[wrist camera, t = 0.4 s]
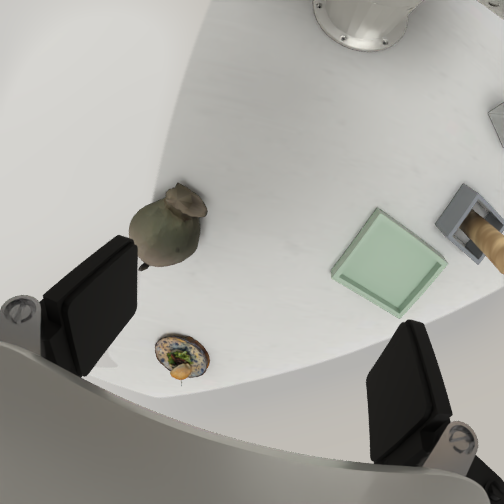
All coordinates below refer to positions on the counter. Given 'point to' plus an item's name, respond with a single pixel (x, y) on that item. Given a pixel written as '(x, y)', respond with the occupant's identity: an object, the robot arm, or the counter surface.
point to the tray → (388, 265)
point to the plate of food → (182, 357)
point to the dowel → (485, 238)
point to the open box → (458, 213)
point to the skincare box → (498, 121)
